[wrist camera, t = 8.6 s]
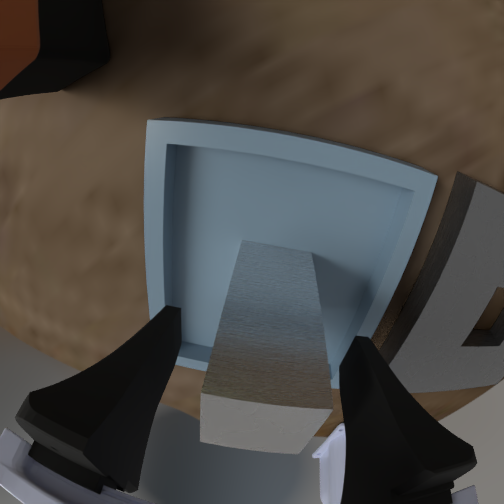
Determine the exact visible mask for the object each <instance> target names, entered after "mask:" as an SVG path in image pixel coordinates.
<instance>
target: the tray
mask: <svg viewBox="0 0 504 504" xmlns="http://www.w3.org/2000/svg"><path fill="white" fill-rule="evenodd" d="M437 178H438V176H437V175H435V174H433V173H431V172H429V171H427V170H426V169H424V168H422V167H420V166H417V165H414V164H411V163H408V162H405V161H402V160H399V159H396V158H393V157H390V156H386V155H383V154H380V153H376V152H373V151H369V150H366V149H362V148H358V147H354V146H351V145H347V144H343V143H339V142H334V141H330V140H326V139H321V138H317V137H312V136H308V135H303V134H298V133H292V132H287V131H282V130H276V129H270V128H264V127H257V126H250V125H243V124H236V123H227V122H219V121H209V120H198V119H185V118H169V117H163V118H156V119H150V120H147V132H146V148H145V171H144V237H145V261H146V277H147V291H148V302H149V313H150V320H151V319H152V318H153V317H154V316H155V315H156V314H157V313H158V312H159V311H160V310H161V309H162V308H163V307H164V306H166V305H170V306H174V307H179V308H181V330H182V343H181V347H180V350H179V354H178V357H177V361H176V365H180V366H184V367H188V368H193V369H198V370H202V371H207V368H208V364H209V360H210V356H211V352H212V348H213V345H214V341H215V337H216V333H217V330H218V326H219V322H220V318H221V315H222V311H223V307H224V303H225V300H226V296H227V292H228V289H229V285H230V281H231V278H232V274H233V270H234V267H235V263H236V259H237V256H238V252H239V248H240V245H241V241H242V240H245V241H251V242H256V243H262V244H268V245H274V246H279V247H285V248H290V249H296V250H302V251H307V252H311V253H312V258H313V264H314V270H315V275H316V281H317V287H318V293H319V300H320V306H321V313H322V319H323V326H324V333H325V341H326V348H327V356H328V364H329V372H330V381H331V388H338V389H339V365H340V364H341V362H342V360H343V358H344V356H345V354H346V353H347V351H348V349H349V347H350V345H351V343H352V341H353V339H354V337H355V335H356V336H366V337H369V338H370V339H371V337H372V335H373V334H374V332H375V330H376V328H377V326H378V324H379V322H380V320H381V318H382V316H383V314H384V312H385V310H386V308H387V306H388V304H389V302H390V300H391V298H392V296H393V294H394V292H395V290H396V288H397V285H398V283H399V281H400V279H401V277H402V274H403V272H404V270H405V267H406V265H407V263H408V260H409V258H410V255H411V253H412V251H413V248H414V246H415V243H416V240H417V238H418V235H419V232H420V230H421V227H422V224H423V222H424V219H425V216H426V213H427V210H428V207H429V204H430V201H431V198H432V195H433V192H434V188H435V185H436V182H437Z"/></svg>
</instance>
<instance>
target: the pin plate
mask: <svg viewBox="0 0 504 504" xmlns="http://www.w3.org/2000/svg"><path fill="white" fill-rule="evenodd" d="M497 287H502V288H504V193H503V192H501V191H499V190H497V189H495V188H493V187H491V186H489V185H487V184H485V183H482V182H480V181H478V180H476V179H474V178H472V177H469V176H467V175H465V174H463V173H460V172H458V171H457V174H456V178H455V181H454V184H453V188H452V191H451V194H450V197H449V200H448V203H447V206H446V209H445V212H444V215H443V218H442V221H441V223H440V226H439V229H438V231H437V234H436V236H435V239H434V242H433V244H432V247H431V249H430V251H429V254H428V256H427V258H426V261H425V263H424V265H423V268H422V270H421V272H420V274H419V276H418V279H417V281H416V283H415V285H414V287H413V289H412V291H411V293H410V295H409V297H408V299H407V301H406V303H405V305H404V307H403V309H402V311H401V313H400V315H399V316H398V318H397V320H396V322H395V324H394V326H393V327H392V329H391V331H390V333H389V335H388V336H387V338H386V340H385V341H384V343H383V345H382V346H381V348H380V350H379V352H380V354H381V355H382V357H383V358H384V360H385V361H386V363H387V364H388V365H389V367H390V368H391V370H392V371H393V372H394V374H395V375H396V377H397V378H398V379H399V381H400V382H401V383H402V384H403V386H404V387H405V388H406V389H407V391H408V392H409V393H420V392H436V391H448V390H458V389H467V388H475V387H482V386H488V385H494V384H498V382H499V381H500V380H501V379H502V378H503V377H504V309H503V310H502V312H501V314H500V315H499V317H498V318H497V320H496V322H495V323H494V325H493V326H492V328H491V329H490V330H472V329H473V327H474V326H475V324H476V323H477V321H478V320H479V318H480V316H481V315H482V313H483V311H484V310H485V308H486V306H487V305H488V303H489V301H490V299H491V298H492V296H493V294H494V292H495V290H496V288H497Z"/></svg>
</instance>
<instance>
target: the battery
mask: <svg viewBox="0 0 504 504" xmlns="http://www.w3.org/2000/svg"><path fill="white" fill-rule="evenodd" d="M109 59H110V52H109V46H108V40H107V35H106V28H105V22H104V15H103V8H102V1H101V0H0V99H5V98H11V97H17V96H24V95H31V94H39V93H49V92H57V91H60V90H61V89H63V88H65V87H66V86H68V85H69V84H71V83H73V82H74V81H76V80H78V79H79V78H81V77H83V76H84V75H86V74H88V73H90V72H92V71H93V70H95V69H97V68H99V67H101V66H103V65H104V64H106V63H107V62H108V61H109Z"/></svg>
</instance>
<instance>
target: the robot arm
mask: <svg viewBox="0 0 504 504" xmlns="http://www.w3.org/2000/svg"><path fill="white" fill-rule="evenodd" d="M181 343H182V330H181V308H179V307H174V306H170V305H166V306H164V307H163V308H162V309H161V310H160V311H159V312H158V313H157V314H156V315H155V316H154V317H153V318H152V319H151V320H150V321H149V322H148V323H147V324H146V325H145V326H144V327H143V328H142V329H140V330H139V331H138V332H137V333H136V334H135V335H134V336H133V337H131V338H130V339H129V340H128V341H126V342H125V343H124V344H123V345H121V346H120V347H119V348H118V349H116V350H115V351H114V352H112V353H111V354H110V355H108V356H107V357H105V358H104V359H102V360H101V361H99V362H98V363H96V364H94V365H93V366H91V367H89V368H87V369H86V370H84V371H82V372H80V373H78V374H76V375H74V376H72V377H70V378H68V379H65V380H64V381H61V382H59V383H56V384H54V385H51V386H48V387H45V388H42V389H39V390H36V391H32V392H30V393H29V395H28V396H27V397H26V399H25V401H24V402H23V404H22V406H21V408H20V409H19V411H18V413H17V415H16V417H15V419H16V421H17V422H18V424H19V425H20V426H21V427H22V428H23V429H24V430H25V431H26V432H27V433H28V434H29V435H30V436H31V437H32V438H33V439H34V442H33V444H32V445H31V444H29V443H28V442H27V441H25V440H24V439H23V438H21V437H20V436H18V435H17V434H15V433H14V432H12V431H11V430H10V429H8V428H5V429H4V431H3V433H2V435H1V436H0V485H1V486H2V487H3V488H4V489H5V490H7V491H8V492H9V493H10V494H12V495H13V496H14V497H16V498H17V499H18V500H19V501H21V502H22V503H23V504H155V503H152V502H149V501H146V500H142V499H139V498H136V497H133V496H130V495H128V494H125V493H122V492H120V491H117V490H116V489H118V490H121V491H123V492H124V491H126V492H128V493H132V492H135V491H137V490H138V486H139V480H140V474H141V468H142V464H143V459H144V455H145V450H146V446H147V442H148V438H149V434H150V430H151V426H152V423H153V419H154V416H155V412H156V410H157V407H158V404H159V402H160V399H161V397H162V395H163V392H164V390H165V388H166V385H167V383H168V380H169V378H170V376H171V373H172V371H173V369H174V366H175V364H176V361H177V357H178V354H179V350H180V347H181ZM339 389H340V396H341V403H342V410H343V418H344V423H341V424H339V425H338V426H337V428H336V429H335V430H334V431H333V432H332V433H331V434H330V436H329V437H328V438H327V439H326V440H325V441H324V442H323V444H322V445H321V446H320V447H319V448H318V449H317V450H316V451H315V452H314V453H313V454H312V457H313V458H320V497H321V501H322V503H323V504H478V499H477V494H476V489H475V486H474V485H472V486H470V487H467V488H465V489H462V490H460V491H457V492H455V493H453V494H451V490H450V489H452V488H454V482H453V481H454V480H456V479H457V478H459V477H461V476H462V475H464V474H465V473H467V472H468V471H470V470H471V469H473V468H474V467H475V465H476V464H477V460H476V457H475V452H474V449H473V446H471V445H470V444H468V443H466V442H465V441H463V440H462V439H460V438H458V437H457V436H455V435H454V434H452V433H451V432H450V431H449V430H447V429H446V428H445V427H443V426H442V425H441V424H440V423H439V422H437V421H436V420H435V419H434V418H433V417H432V416H431V415H430V414H429V413H428V412H427V411H426V410H424V409H423V407H422V406H421V405H420V404H419V403H418V402H417V401H416V400H415V399H414V398H413V397H412V395H411V394H410V393H409V392H408V391H407V389H406V388H405V387H404V386H403V384H402V383H401V382H400V381H399V379H398V378H397V377H396V375H395V374H394V372H393V371H392V370H391V368H390V367H389V365H388V364H387V363H386V361H385V360H384V358H383V357H382V355H381V354H380V352H379V351H378V350H377V348H376V347H375V345H374V344H373V342H372V341H371V340H370V338H369V337H366V336H356V335H355V337H354V339H353V341H352V343H351V345H350V347H349V349H348V351H347V353H346V354H345V356H344V358H343V360H342V362H341V364H340V365H339Z"/></svg>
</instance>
